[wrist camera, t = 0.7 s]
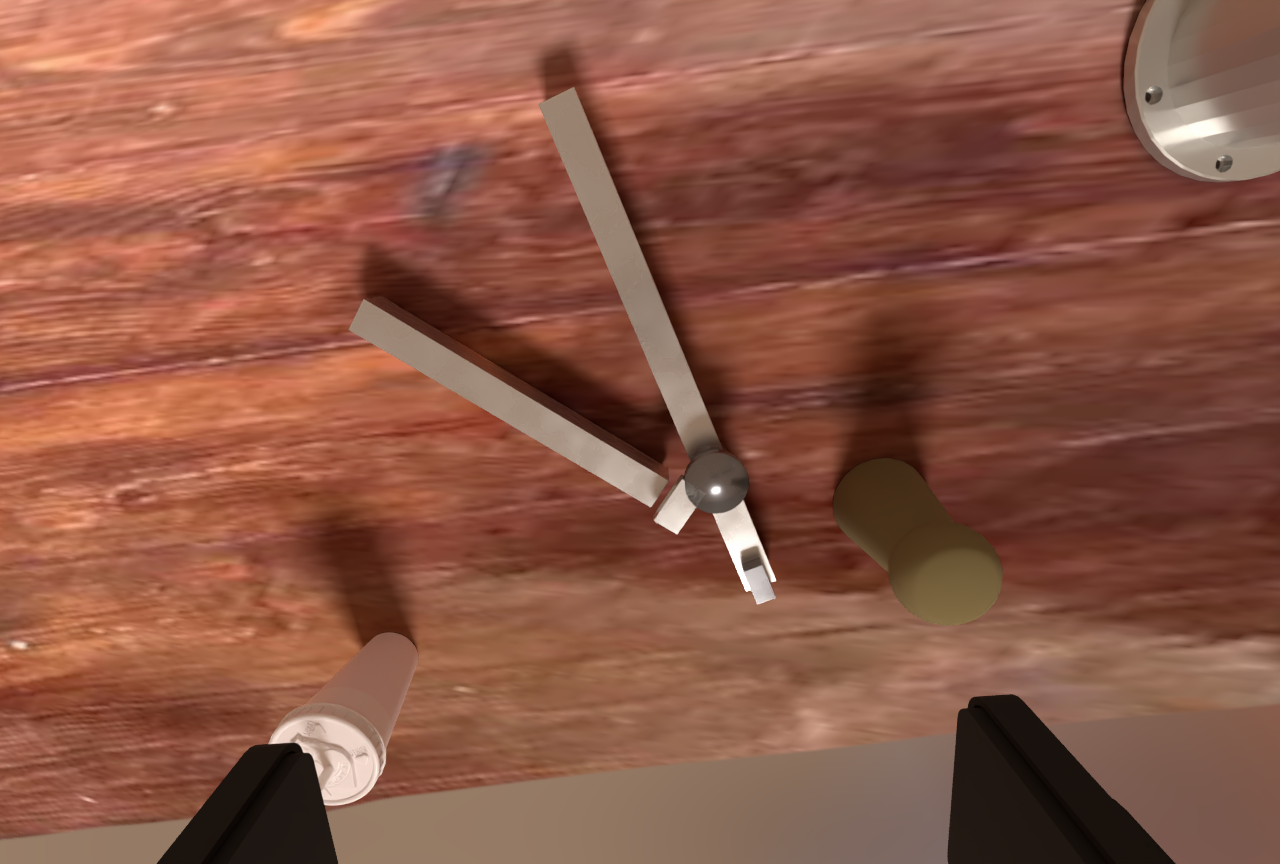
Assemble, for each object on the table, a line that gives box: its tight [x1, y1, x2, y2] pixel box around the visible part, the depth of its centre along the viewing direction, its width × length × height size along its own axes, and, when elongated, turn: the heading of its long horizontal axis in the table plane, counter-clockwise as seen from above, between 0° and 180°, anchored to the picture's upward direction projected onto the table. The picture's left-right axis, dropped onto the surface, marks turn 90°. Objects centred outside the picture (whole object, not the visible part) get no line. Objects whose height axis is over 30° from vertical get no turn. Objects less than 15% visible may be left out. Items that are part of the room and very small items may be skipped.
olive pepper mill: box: [833, 458, 1003, 626], centre depth 35 cm, size 6×6×11 cm
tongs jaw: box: [349, 296, 749, 534], centre depth 36 cm, size 6×24×4 cm, turn 58°
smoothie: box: [269, 632, 418, 805], centre depth 38 cm, size 6×6×14 cm
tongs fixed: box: [539, 87, 776, 604], centre depth 36 cm, size 2×31×4 cm, turn 23°
